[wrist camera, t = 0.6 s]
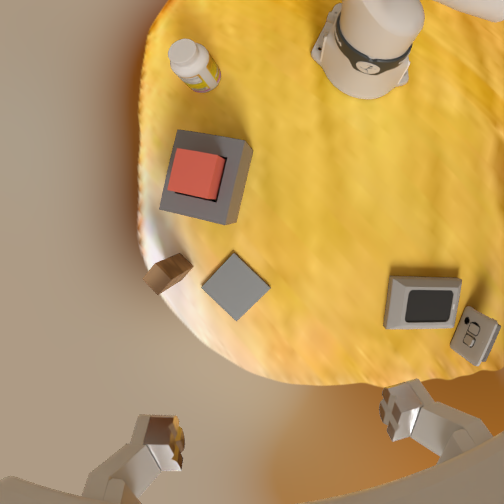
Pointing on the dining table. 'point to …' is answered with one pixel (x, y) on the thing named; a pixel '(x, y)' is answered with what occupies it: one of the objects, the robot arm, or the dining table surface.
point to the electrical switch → (475, 336)
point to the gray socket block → (230, 184)
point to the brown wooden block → (167, 273)
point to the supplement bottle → (194, 65)
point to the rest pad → (235, 287)
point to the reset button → (196, 173)
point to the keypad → (421, 302)
